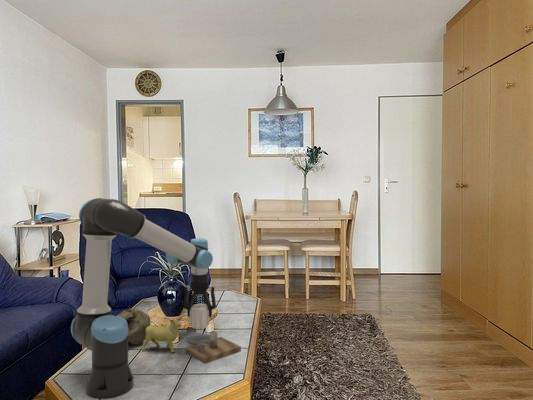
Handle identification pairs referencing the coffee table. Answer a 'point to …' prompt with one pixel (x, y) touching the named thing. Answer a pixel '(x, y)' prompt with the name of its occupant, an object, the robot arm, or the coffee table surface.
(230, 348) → the lock base
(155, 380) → the coffee table surface
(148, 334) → the toy
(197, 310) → the grey rounded block
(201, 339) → the coaster
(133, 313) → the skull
